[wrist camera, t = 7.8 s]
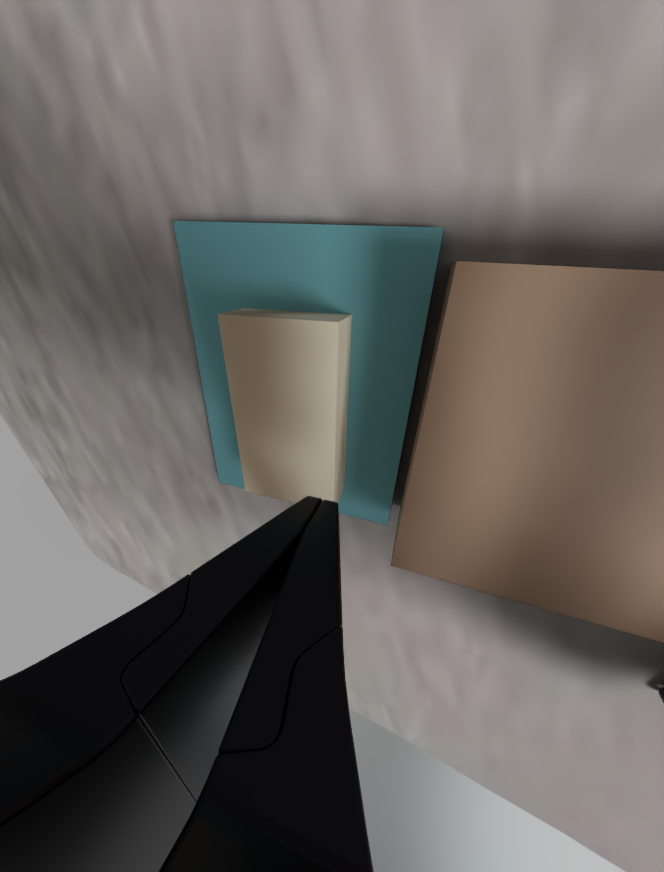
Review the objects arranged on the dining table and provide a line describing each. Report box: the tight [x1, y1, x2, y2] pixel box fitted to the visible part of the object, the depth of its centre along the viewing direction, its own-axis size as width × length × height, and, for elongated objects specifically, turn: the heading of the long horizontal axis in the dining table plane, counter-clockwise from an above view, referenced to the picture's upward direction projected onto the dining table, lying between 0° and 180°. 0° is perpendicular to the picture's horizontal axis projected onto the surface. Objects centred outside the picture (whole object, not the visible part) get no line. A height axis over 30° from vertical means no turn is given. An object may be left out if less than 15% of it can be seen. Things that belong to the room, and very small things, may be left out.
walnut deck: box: [391, 261, 664, 643], centre depth 11 cm, size 11×12×4 cm
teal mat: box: [173, 221, 444, 525], centre depth 15 cm, size 11×14×1 cm
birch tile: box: [217, 308, 352, 503], centre depth 15 cm, size 5×9×2 cm, turn 0°
